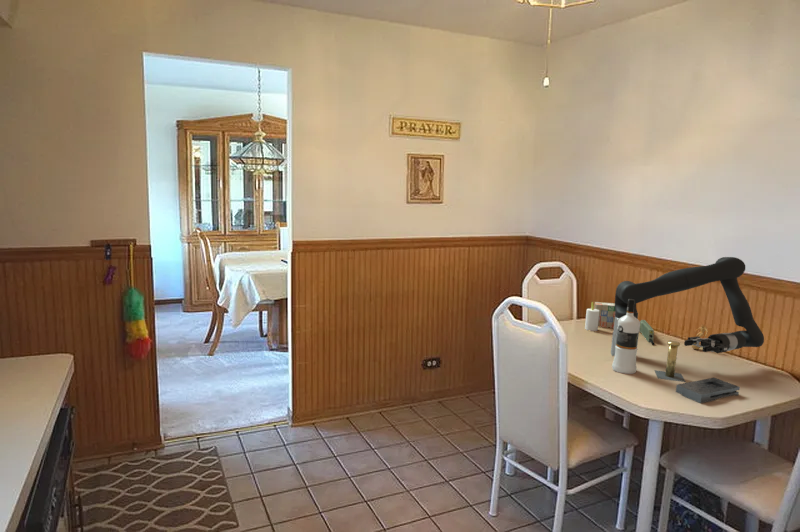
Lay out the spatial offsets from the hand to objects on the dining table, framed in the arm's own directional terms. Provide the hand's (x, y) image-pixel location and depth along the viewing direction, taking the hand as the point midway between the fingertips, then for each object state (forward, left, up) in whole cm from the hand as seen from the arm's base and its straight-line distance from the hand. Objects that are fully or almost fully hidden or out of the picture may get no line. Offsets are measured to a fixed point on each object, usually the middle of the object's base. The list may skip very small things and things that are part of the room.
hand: (694, 346), depth 219 cm
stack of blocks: (-25, +67, -12) cm, 72 cm away
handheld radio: (-11, +50, -12) cm, 52 cm away
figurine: (+10, +40, -12) cm, 43 cm away
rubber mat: (-9, -7, -12) cm, 16 cm away
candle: (-37, +55, -12) cm, 67 cm away
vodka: (-26, -7, -12) cm, 29 cm away
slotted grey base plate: (+1, -22, -12) cm, 25 cm away
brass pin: (-9, -7, -11) cm, 16 cm away
